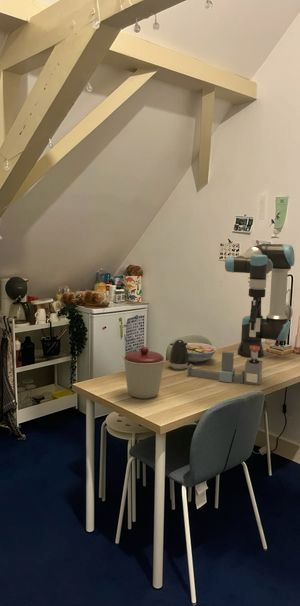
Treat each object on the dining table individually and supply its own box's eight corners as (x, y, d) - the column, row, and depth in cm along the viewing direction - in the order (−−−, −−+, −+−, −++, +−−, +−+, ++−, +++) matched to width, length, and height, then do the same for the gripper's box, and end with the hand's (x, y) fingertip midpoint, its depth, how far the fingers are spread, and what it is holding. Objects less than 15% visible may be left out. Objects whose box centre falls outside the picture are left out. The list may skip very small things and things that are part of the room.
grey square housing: (246, 379, 218) (247, 359, 217) (261, 380, 215) (262, 360, 214) (244, 383, 211) (245, 362, 210) (259, 385, 209) (260, 364, 207)
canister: (114, 392, 195) (114, 345, 192) (147, 385, 206) (148, 340, 203) (138, 405, 181) (139, 354, 178) (172, 396, 192) (174, 348, 189)
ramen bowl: (226, 362, 246) (227, 347, 245) (197, 369, 232) (198, 354, 231) (193, 352, 265) (194, 339, 264) (165, 358, 251) (165, 344, 249)
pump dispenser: (178, 372, 226) (179, 343, 224) (164, 367, 234) (165, 339, 232) (192, 368, 233) (193, 340, 231) (178, 364, 241) (179, 336, 238)
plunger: (249, 359, 215) (250, 344, 214) (259, 361, 213) (260, 345, 212) (248, 362, 211) (249, 347, 210) (258, 363, 209) (259, 348, 208)
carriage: (222, 376, 220) (223, 349, 218) (234, 378, 218) (235, 351, 216) (218, 380, 213) (220, 353, 211) (231, 382, 211) (232, 354, 209)
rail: (190, 373, 225) (190, 363, 224) (244, 380, 215) (244, 370, 214) (187, 376, 220) (187, 366, 219) (242, 384, 210) (243, 373, 210)
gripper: (253, 285, 219) (250, 328, 223) (244, 290, 197) (241, 338, 200) (268, 286, 217) (266, 330, 220) (261, 291, 194) (258, 340, 198)
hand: (254, 334), depth 210 cm, fingers open, 12 cm apart
